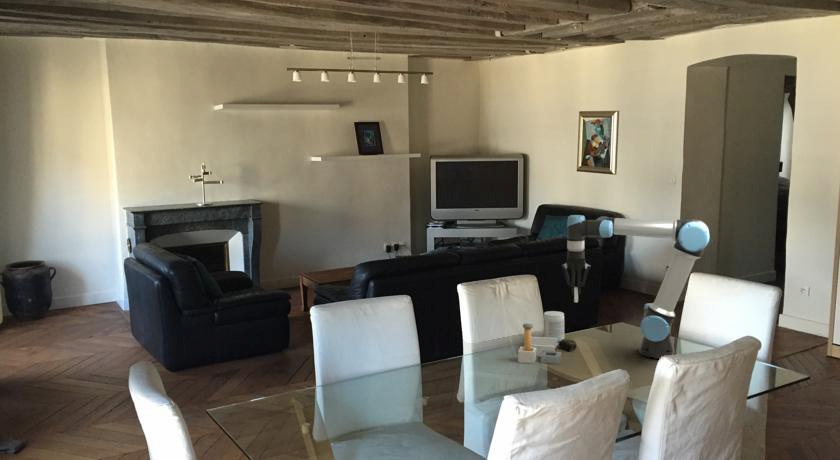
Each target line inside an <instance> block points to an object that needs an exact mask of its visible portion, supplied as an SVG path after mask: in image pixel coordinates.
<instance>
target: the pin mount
mask: <svg viewBox="0 0 840 460" xmlns="http://www.w3.org/2000/svg"><path fill="white" fill-rule="evenodd" d="M561 360H562V352H561V351H555V352H553V351H542V354H541V356H540V363H541V364H550V365H551V364H552V365H553V364H554V365H560V364H561Z"/></svg>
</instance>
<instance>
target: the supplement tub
mask: <svg viewBox="0 0 840 460" xmlns="http://www.w3.org/2000/svg"><path fill="white" fill-rule="evenodd" d="M543 337H549V338H557V345H559V342H560V341H562V340H563V339H565V313H564V312H562V311H557V310H556V311H555V310H550V311H545V312H543Z"/></svg>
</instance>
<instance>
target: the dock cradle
mask: <svg viewBox="0 0 840 460" xmlns="http://www.w3.org/2000/svg"><path fill="white" fill-rule="evenodd" d="M531 347H534V348H536V357H541V354H542V351H553V352H556V351H555V349H556V348H558V344H557V338H549V337H544V336H532V335H531Z"/></svg>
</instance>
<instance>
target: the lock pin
mask: <svg viewBox="0 0 840 460" xmlns="http://www.w3.org/2000/svg"><path fill="white" fill-rule="evenodd" d="M533 325H534V324H532V323H523V324H522V328H524V329H523V330H524V331H523V334H524V336H523V339H524V341H523V342H524V343H523V347H524V351H531V336H532V328H534V327H533Z"/></svg>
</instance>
